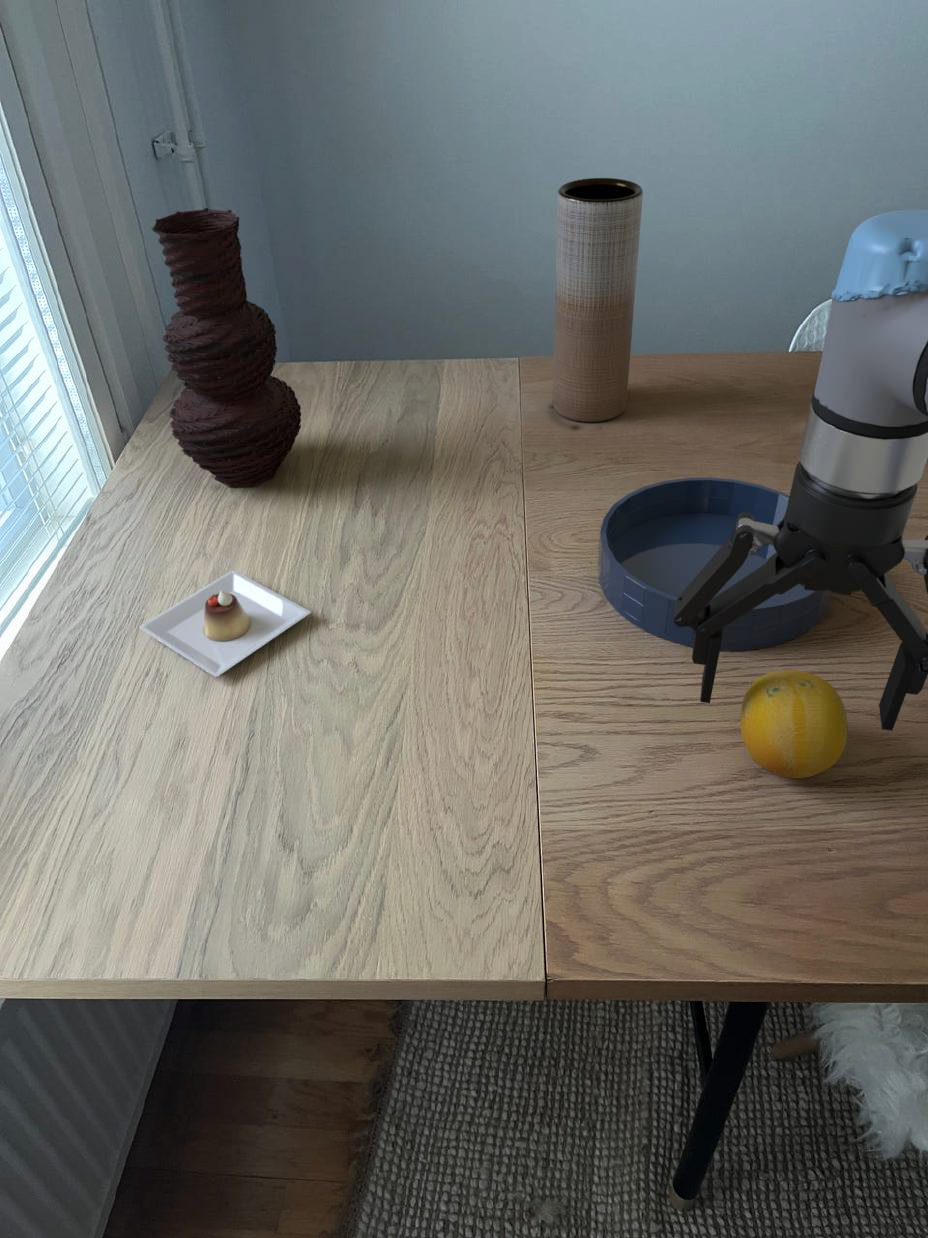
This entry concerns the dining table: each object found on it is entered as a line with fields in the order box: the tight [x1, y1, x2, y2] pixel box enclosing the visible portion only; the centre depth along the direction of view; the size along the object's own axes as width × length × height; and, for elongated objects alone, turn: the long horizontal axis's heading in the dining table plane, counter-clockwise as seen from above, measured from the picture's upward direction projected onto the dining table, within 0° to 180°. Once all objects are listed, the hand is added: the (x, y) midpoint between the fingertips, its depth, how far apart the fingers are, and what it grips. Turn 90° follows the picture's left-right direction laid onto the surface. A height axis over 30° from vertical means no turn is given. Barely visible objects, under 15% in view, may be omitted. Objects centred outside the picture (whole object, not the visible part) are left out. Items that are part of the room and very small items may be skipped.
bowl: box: [597, 476, 833, 652], centre depth 96 cm, size 23×23×5 cm
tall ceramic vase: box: [552, 177, 644, 423], centre depth 120 cm, size 10×10×28 cm
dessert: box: [138, 569, 312, 678], centre depth 92 cm, size 12×12×5 cm
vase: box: [151, 207, 302, 488], centre depth 109 cm, size 15×15×30 cm
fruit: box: [739, 669, 849, 779], centre depth 76 cm, size 9×8×8 cm
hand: (793, 704), depth 75 cm, fingers open, 13 cm apart
